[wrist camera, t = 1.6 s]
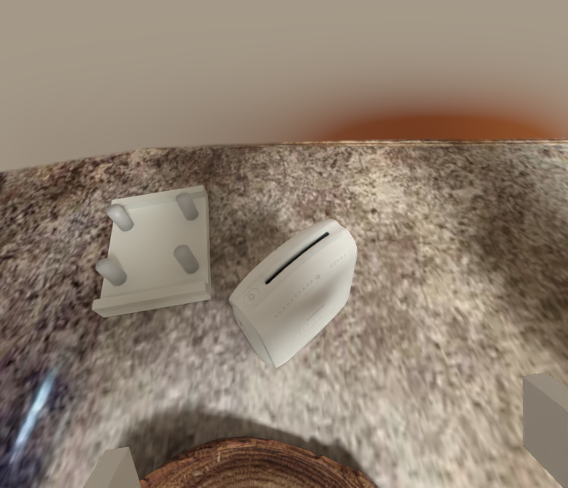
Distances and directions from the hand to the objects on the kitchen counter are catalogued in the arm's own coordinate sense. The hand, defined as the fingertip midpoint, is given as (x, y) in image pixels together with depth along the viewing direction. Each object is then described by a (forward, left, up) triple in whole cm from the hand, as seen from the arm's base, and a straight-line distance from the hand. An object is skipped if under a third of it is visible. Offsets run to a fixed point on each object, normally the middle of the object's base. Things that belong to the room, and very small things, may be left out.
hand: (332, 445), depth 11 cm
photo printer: (+10, 0, -18) cm, 21 cm away
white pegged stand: (+21, +14, -18) cm, 31 cm away
